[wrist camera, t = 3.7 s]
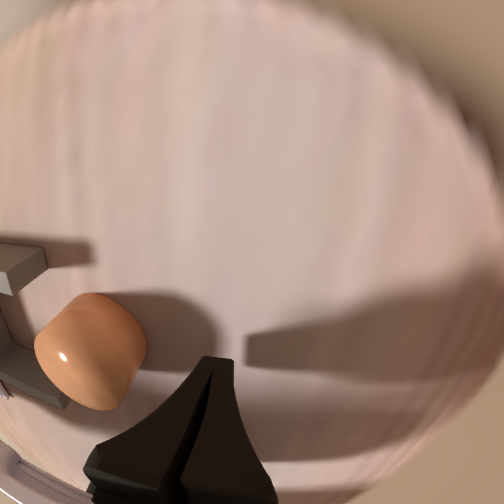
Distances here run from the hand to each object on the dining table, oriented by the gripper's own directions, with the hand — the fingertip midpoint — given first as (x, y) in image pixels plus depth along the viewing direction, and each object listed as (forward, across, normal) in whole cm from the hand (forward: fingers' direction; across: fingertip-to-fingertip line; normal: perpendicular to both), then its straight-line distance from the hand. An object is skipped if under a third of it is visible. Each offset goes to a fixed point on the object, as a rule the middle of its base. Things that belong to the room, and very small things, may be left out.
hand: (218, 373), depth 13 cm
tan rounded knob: (+2, +6, 0) cm, 7 cm away
